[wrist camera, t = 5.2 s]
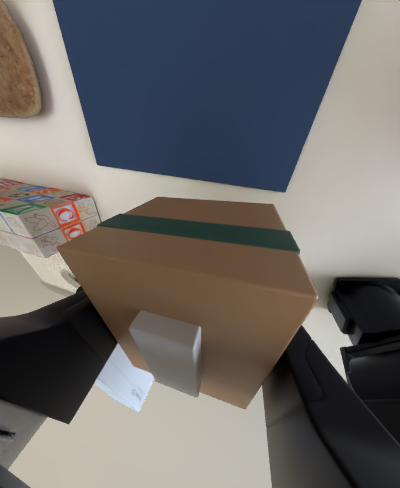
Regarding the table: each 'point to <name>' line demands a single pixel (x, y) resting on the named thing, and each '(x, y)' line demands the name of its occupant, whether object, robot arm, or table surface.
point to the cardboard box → (197, 291)
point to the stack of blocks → (42, 217)
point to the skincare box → (124, 380)
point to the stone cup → (16, 72)
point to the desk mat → (203, 82)
